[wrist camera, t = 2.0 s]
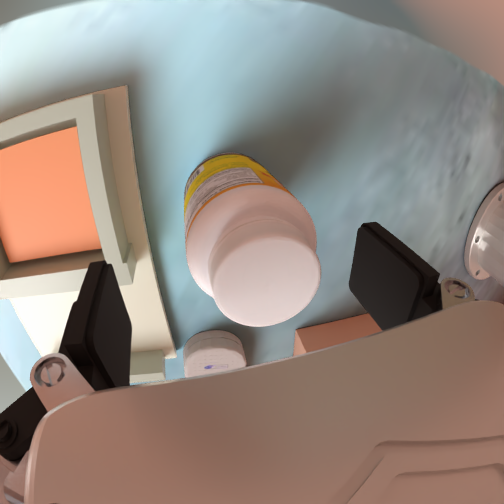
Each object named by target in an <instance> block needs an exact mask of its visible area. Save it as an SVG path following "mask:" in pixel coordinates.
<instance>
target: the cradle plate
mask: <svg viewBox="0 0 504 504" xmlns="http://www.w3.org/2000/svg"><path fill="white" fill-rule="evenodd" d="M0 238H1V241H2V243H3V246H4V249H5V251H6V254H7V257H8V259H9V262H10V263H13V262H19V261H25V260H31V259H37V258H43V257H49V256H55V255H61V254H68V253H74V252H81V251H87V250H94V249H100V248H102V247H101V243H100V239H99V236H98V232H97V228H96V224H95V220H94V216H93V212H92V207H91V203H90V198H89V194H88V189H87V184H86V179H85V174H84V169H83V163H82V157H81V151H80V145H79V138H78V130H77V126H74V127H70V128H66V129H62V130H59V131H55V132H52V133H48V134H45V135H41V136H38V137H35V138H32V139H29V140H26V141H23V142H20V143H17V144H14V145H11V146H8V147H5V148H3V149H0Z"/></svg>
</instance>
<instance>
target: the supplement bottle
mask: <svg viewBox="0 0 504 504" xmlns="http://www.w3.org/2000/svg"><path fill="white" fill-rule="evenodd" d="M184 223H185V243H186V257H187V262H188V266H189V269H190V272H191V274H192V276H193V278H194V280H195V281H196V283H197V284H198V285H199V286H200V288H201V289H202V290H203V291H204V292H206V293H207V294H208V295H210V296H211V297H213V298H214V299H215V302H216V304H217V306H218V307H219V309H220V310H221V311H222V312H223V314H224V315H226V316H227V317H228V318H230V319H231V320H233V321H235V322H237V323H240V324H242V325H247V326H255V327H259V326H269V325H274V324H277V323H281V322H283V321H285V320H287V319H289V318H291V317H293V316H295V315H296V314H298V313H299V312H300V311H301V310H303V309H304V308H305V307H306V306H307V305H308V303H309V302H310V301H311V300H312V298H313V297H314V295H315V293H316V291H317V289H318V287H319V283H320V279H321V266H320V262H319V259H318V256H317V255H316V253H315V252H316V244H317V240H316V231H315V226H314V223H313V221H312V218H311V217H310V215H309V213H308V212H307V210H306V209H305V208H304V206H303V205H302V204H301V203H300V202H299V201H298V200H297V199H296V198H295V197H294V196H293V195H292V194H291V193H290V192H289V191H288V190H287V189H286V188H285V187H284V186H283V185H282V184H281V183H280V182H279V181H277V180H276V179H275V178H274V177H273V176H272V175H271V174H270V173H269V172H268V171H267V170H266V169H265V168H264V167H263V166H261V165H260V164H259V163H258V162H256V161H255V160H254V159H252V158H250V157H248V156H246V155H243V154H238V153H222V154H218V155H214V156H212V157H210V158H208V159H206V160H204V161H203V162H202V163H200V164H199V165H198V166H197V167H196V168H195V169H194V171H193V172H192V173H191V175H190V177H189V179H188V181H187V183H186V187H185V192H184Z"/></svg>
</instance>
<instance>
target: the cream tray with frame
mask: <svg viewBox="0 0 504 504" xmlns="http://www.w3.org/2000/svg"><path fill="white" fill-rule="evenodd" d="M74 126H77V130H78V138H79V145H80V151H81V157H82V163H83V169H84V174H85V179H86V184H87V189H88V194H89V198H90V203H91V207H92V212H93V216H94V220H95V224H96V228H97V232H98V236H99V239H100V243H101V247H102V248H100V249H94V250H87V251H81V252H74V253H68V254H61V255H55V256H49V257H43V258H37V259H31V260H25V261H19V262H13V263H10V262H9V259H8V257H7V254H6V251H5V249H4V246H3V243H2V241H1V238H0V299H10V301H11V303H12V305H13V307H14V309H15V311H16V313H17V315H18V317H19V318H20V320H21V322H22V324H23V326H24V327H25V329H26V331H27V333H28V334H29V336H30V338H31V340H32V341H33V343H34V345H35V346H36V348H37V349H38V351H39V353H40V354H41V356H42V357H44V356H45V355H48V354H51V353H58V351H59V348H60V344H61V340H62V337H63V333H64V330H65V326H66V323H67V320H68V317H69V313H70V310H71V307H72V304H73V302H75V301H77V298H78V295H79V292H80V289H81V286H82V283H83V280H84V278H85V275H86V272H87V269H88V267H89V264H90V263H91V262H96V261H103V260H105V261H106V262H107V264H110V263H111V264H112V266H113V269H114V272H115V275H116V278H117V282H118V285H119V288H120V291H121V294H122V297H123V300H124V303H125V306H126V309H127V312H128V315H129V317H130V320H131V324H132V340H131V358H130V383H135V382H148V381H159V380H165V359H169V358H177V352H176V348H175V344H174V341H173V337H172V334H171V330H170V327H169V323H168V319H167V315H166V312H165V308H164V304H163V300H162V296H161V292H160V288H159V284H158V279H157V275H156V271H155V266H154V262H153V257H152V253H151V248H150V243H149V238H148V233H147V228H146V223H145V217H144V212H143V206H142V200H141V194H140V188H139V182H138V175H137V168H136V161H135V154H134V146H133V138H132V129H131V119H130V109H129V97H128V86H126V85H125V86H120V87H115V88H110V89H105V90H101V91H96V92H92V93H88V94H84V95H80V96H76V97H73V98H69V99H66V100H62V101H59V102H55V103H52V104H49V105H46V106H43V107H40V108H37V109H34V110H31V111H28V112H25V113H22V114H20V115H17V116H14V117H12V118H9V119H7V120H4V121H2V122H0V149H3V148H5V147H8V146H11V145H14V144H17V143H20V142H23V141H26V140H29V139H32V138H35V137H38V136H41V135H45V134H48V133H52V132H55V131H59V130H62V129H66V128H70V127H74Z"/></svg>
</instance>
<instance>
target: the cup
mask: <svg viewBox="0 0 504 504" xmlns="http://www.w3.org/2000/svg"><path fill="white" fill-rule="evenodd" d="M380 331H382V330H381V328H380V327H379V326H378V325H377V323H376V322H375V321H374V319H373V318H372V317H371V316H370V314H369V313H367V314H363V315H359V316H355V317H351V318H347V319H342V320H338V321H334V322H329V323H325V324H320V325H316V326H311V327H306V328H302V329H297V330H296V332H295V343H294V352H293V356H296V355H300V354H304V353H308V352H312V351H316V350H320V349H323V348H327V347H330V346H334V345H338V344H341V343H345V342H348V341H351V340H355V339H358V338H361V337H364V336H368V335H371V334H374V333H377V332H380Z"/></svg>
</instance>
